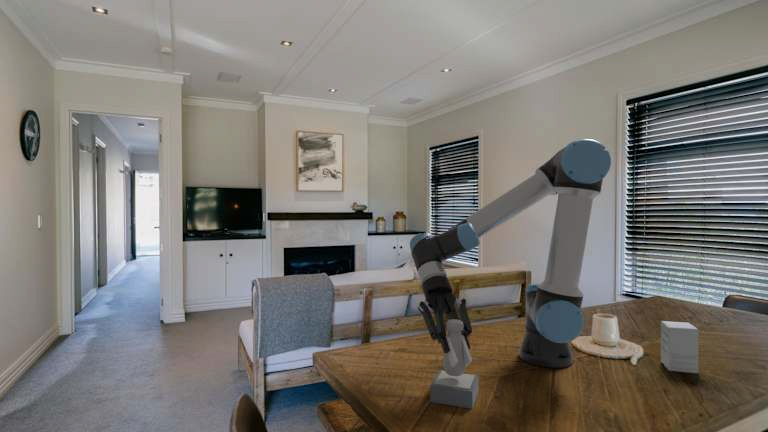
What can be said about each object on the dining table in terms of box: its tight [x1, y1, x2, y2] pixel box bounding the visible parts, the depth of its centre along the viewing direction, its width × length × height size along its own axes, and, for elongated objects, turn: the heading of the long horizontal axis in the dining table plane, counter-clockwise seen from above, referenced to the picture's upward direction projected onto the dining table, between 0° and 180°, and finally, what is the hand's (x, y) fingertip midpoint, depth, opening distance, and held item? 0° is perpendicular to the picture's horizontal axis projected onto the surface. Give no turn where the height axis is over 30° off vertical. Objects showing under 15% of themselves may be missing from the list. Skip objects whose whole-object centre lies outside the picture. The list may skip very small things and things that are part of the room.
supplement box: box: [660, 320, 700, 374], centre depth 120 cm, size 7×7×13 cm
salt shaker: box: [442, 319, 467, 376], centre depth 102 cm, size 6×6×13 cm
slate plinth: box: [429, 369, 480, 410], centre depth 102 cm, size 10×10×4 cm
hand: (461, 363), depth 98 cm, fingers closed on salt shaker, 3 cm apart
